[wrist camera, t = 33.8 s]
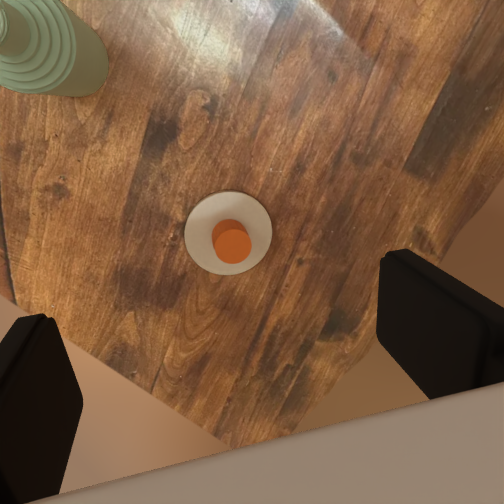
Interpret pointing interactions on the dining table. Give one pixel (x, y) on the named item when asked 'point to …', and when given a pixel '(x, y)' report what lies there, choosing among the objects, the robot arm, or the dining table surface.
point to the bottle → (49, 50)
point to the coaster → (218, 210)
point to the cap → (231, 241)
